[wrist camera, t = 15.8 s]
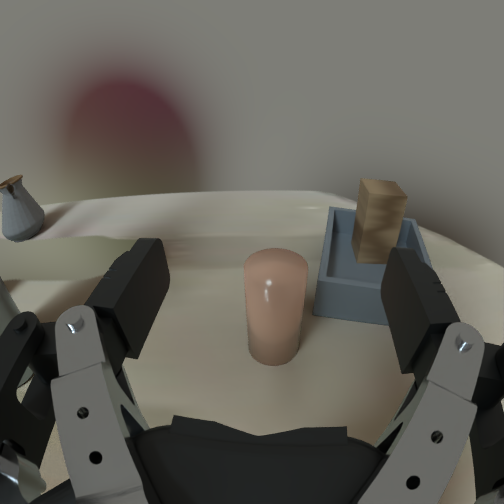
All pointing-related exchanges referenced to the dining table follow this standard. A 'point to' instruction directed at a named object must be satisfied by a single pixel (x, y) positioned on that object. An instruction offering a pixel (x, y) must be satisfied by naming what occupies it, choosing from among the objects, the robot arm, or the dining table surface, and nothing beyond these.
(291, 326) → the terracotta cylinder
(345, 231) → the blue-gray tote
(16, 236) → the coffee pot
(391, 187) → the walnut block
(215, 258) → the dining table surface
